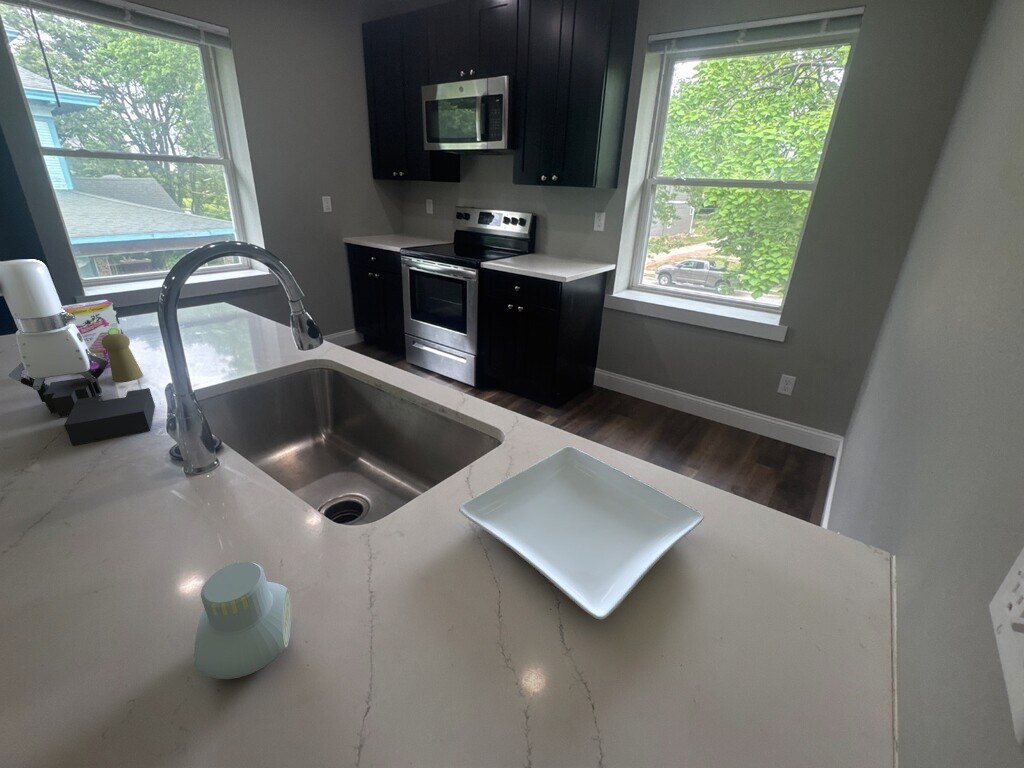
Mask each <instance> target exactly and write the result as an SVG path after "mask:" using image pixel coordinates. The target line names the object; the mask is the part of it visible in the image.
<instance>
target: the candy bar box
mask: <svg viewBox="0 0 1024 768" xmlns="http://www.w3.org/2000/svg"><path fill="white" fill-rule="evenodd" d="M62 308H63V310H64V311H65V312H66V313H67V314H74V315H75V317H76V320H74V321H70V322H69V324H74V325H75V326H76V327H77V329H78V330H79V332H80V334H81V335H82V337H83V339H84V341H85V343H86V345H87V347H88V349H89V351H90V352H91V353H93V354H96V355H98V356H101V357H104V358H106V359H108V360H109V357H108V351H107V350H106V349H105V348H104V347H103V346H102V338H103V337H105V336H107V335H111V334H124V333H123V329H122V326H121V323H120V320H119V316H118V314H117V310H116V307H115V304H114V302H112V301H110V300H108V299H100V300H94V301H93V300H92V301H87V302H80V303H72V304H66V305H62ZM98 366H99V364H98V363H96V362H94V361H93V363H92V364H91V365H90V368H91V369H92V370H94V371H95V370H96V369H97V367H98ZM108 368H110V363H109V364H108V365H107V367H106V368H105V369H108Z"/></svg>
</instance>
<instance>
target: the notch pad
mask: <svg viewBox="0 0 1024 768" xmlns="http://www.w3.org/2000/svg"><path fill="white" fill-rule="evenodd" d="M155 409H156V404H155V401H154V398H153V395H152V392H151V389H150V387H146V388H141V389H139V388H138V389H135V390H133V389H132V390H128V391H127V392H126V395H125V396H122V397H117V398H110V399H105V400H103V397H102V395H99V396H95V397H89V398H82V399H77V401H76V403H75V405H74V407H73V409H72V411H71V413H70V415H69V416H67V418H66V421H65V422H64V424H63V427H64V429H65V431H66V434H67V436H68V438H69V441H70V443H71V446H73V447H74V446H79V445H83V444H90V443H95V442H100V441H105V440H110V439H115V438H116V439H117V438H120V437H125V436H130V435H136V434H140V433H147V432H150V431H151V430H152V424H153V419H154V414H155Z"/></svg>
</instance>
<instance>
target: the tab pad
mask: <svg viewBox="0 0 1024 768" xmlns="http://www.w3.org/2000/svg"><path fill="white" fill-rule="evenodd" d="M87 383H88V379H86V378H85V377H78V378H72V379H71V378H70V379H65V380H57V381H51V382H50V383H49V384H48V385H49V386H48V388H47V389H46V391H45V392H44V394H43V397H44V399H45V402H46V403H45V402H44V403H45V405H46V404H47V405H46V407H47V406H48V407H47V409H48V411H49V413H50V415H51V414H57V416H58V418H64V417H68V416H69V415H70V413H71V411H72V409H73V407H74V405H75V403H76V401H77V399H82V398H89V397H92V394H91V392H90V389H89V386H88V384H87Z"/></svg>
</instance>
